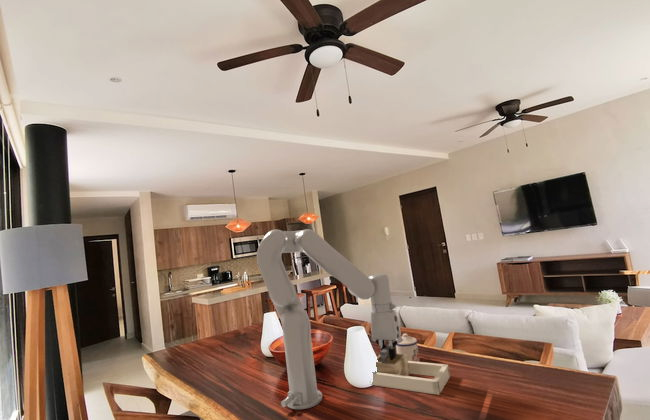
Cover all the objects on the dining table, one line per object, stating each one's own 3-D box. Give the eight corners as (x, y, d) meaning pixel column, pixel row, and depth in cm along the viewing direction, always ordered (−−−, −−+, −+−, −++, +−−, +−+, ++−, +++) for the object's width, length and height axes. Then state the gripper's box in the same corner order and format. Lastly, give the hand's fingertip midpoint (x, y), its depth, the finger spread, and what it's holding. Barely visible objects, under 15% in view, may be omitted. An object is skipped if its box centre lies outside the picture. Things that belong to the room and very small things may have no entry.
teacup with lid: (417, 368, 129) (413, 337, 130) (395, 366, 133) (391, 337, 134) (424, 357, 139) (420, 328, 140) (403, 355, 144) (399, 328, 145)
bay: (439, 399, 103) (436, 381, 104) (370, 388, 116) (368, 373, 117) (451, 378, 117) (448, 362, 117) (388, 370, 130) (386, 356, 130)
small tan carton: (399, 385, 114) (395, 353, 115) (373, 382, 119) (369, 351, 120) (409, 374, 122) (405, 344, 123) (384, 371, 127) (380, 342, 128)
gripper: (406, 305, 122) (413, 356, 120) (367, 305, 130) (374, 353, 129) (398, 310, 115) (406, 364, 114) (358, 309, 124) (365, 360, 122)
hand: (389, 358), depth 121 cm, fingers closed on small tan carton, 2 cm apart
